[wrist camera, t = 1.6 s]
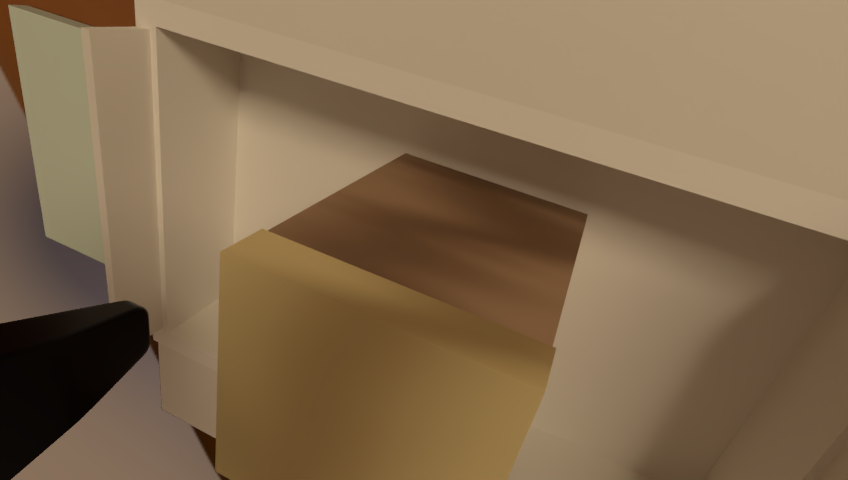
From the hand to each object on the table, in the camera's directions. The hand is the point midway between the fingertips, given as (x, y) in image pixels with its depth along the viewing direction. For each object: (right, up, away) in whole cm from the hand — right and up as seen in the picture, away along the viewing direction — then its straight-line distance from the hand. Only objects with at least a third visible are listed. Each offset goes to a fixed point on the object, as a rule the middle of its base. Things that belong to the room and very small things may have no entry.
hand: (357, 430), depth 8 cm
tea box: (+2, +2, +6) cm, 7 cm away
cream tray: (+3, +3, +6) cm, 7 cm away
